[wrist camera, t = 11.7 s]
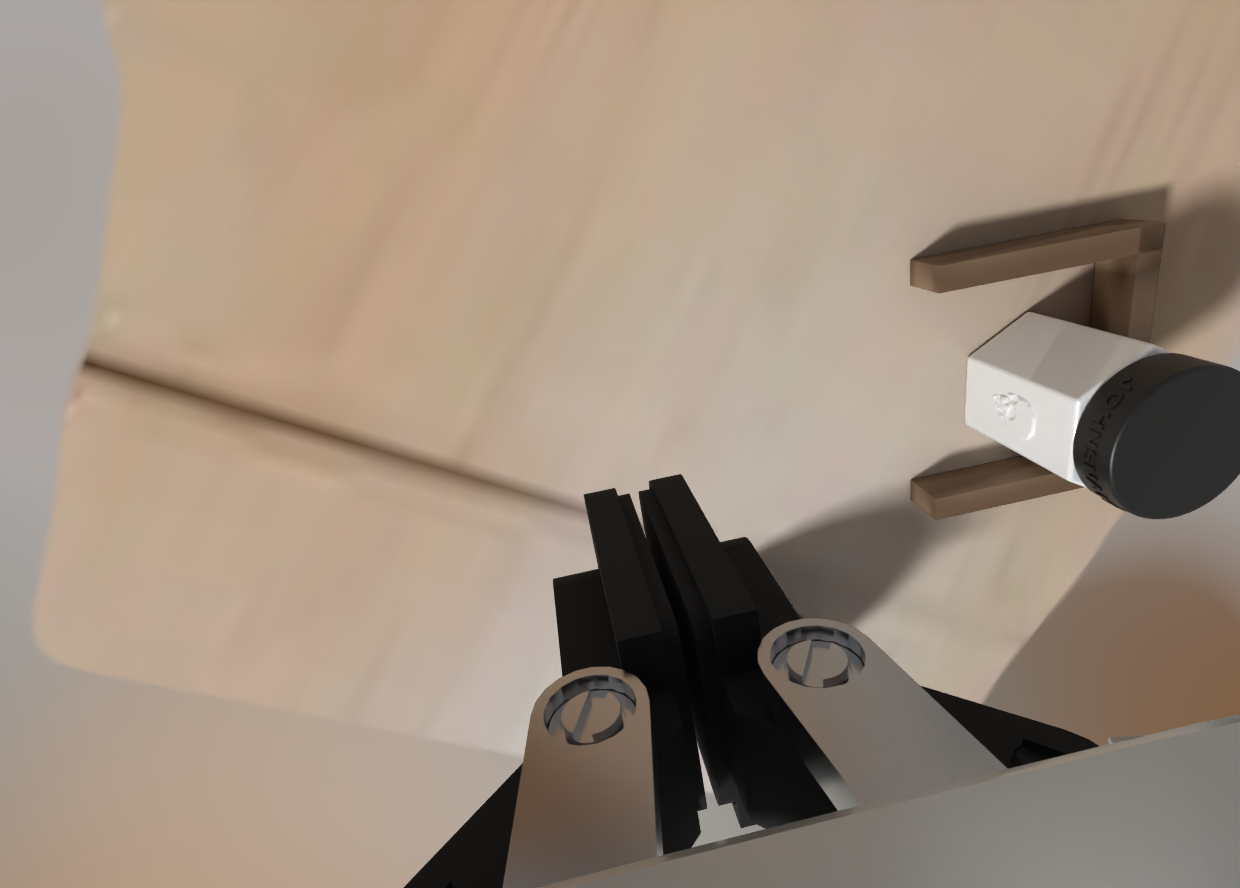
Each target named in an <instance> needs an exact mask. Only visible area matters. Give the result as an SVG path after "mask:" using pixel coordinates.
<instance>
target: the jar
mask: <svg viewBox="0 0 1240 888" xmlns="http://www.w3.org/2000/svg"><path fill="white" fill-rule="evenodd" d="M965 424H966V425H967V426H969V427H971V428H973V429H975V430H976V431H978V432H980V433H982V434H984V435H986V436H987V437H989V438H991V439H993V440H995V441H996V442H998V443H1000V444H1002V445H1004V446H1006V447H1007V448H1009V449H1011V450H1013V451H1015V452H1016V453H1018V454H1020V455H1022V456H1024V457H1026V458H1027V459H1029V460H1031V461H1033V462H1035V463H1036V464H1038V465H1040V466H1042V467H1044V468H1046V469H1047V470H1049V471H1051V472H1053V473H1055V474H1056V475H1058V476H1060V477H1062V478H1064V479H1065V480H1067V481H1069V482H1072V483H1075V484H1078V485H1080V486H1083V487H1086V488H1088V489H1089V490H1090V491H1092V492H1093V493H1095V494H1097V495H1098V496H1100V497H1102V499H1103V500H1104V501H1106V502H1108V503H1110V504H1112V505H1113V506H1115V507H1117V508H1119V509H1121V510H1124V511H1127V512H1130V513H1132V514H1134V515H1136V516H1139V517H1143V518H1148V519H1166V518H1173V517H1177V516H1181V515H1184V514H1187V513H1189V512H1192V511H1194V510H1196V509H1198V508H1200V507H1202V506H1203V505H1205V504H1207V503H1208V502H1210V501H1211V500H1213V499H1214V498H1215V497H1217V496H1218V495H1219V494H1220V493H1222V492H1223V491H1224V490H1225V489H1226V488H1227V487H1228V486H1229V485H1230V484H1231V483H1232V482H1233V481H1234V480H1235V479H1236V478H1237V476H1238V475H1239V474H1240V371H1238V370H1236V369H1233V368H1231V367H1228V366H1224V365H1221V364H1217V363H1213V362H1209V361H1206V360H1202V359H1198V358H1195V357H1191V356H1187V355H1183V354H1177V353H1172V352H1170V351H1168V350H1166V349H1164V348H1161V347H1159V346H1157V345H1155V344H1152V343H1148V342H1144V341H1140V340H1136V339H1132V338H1129V337H1125V336H1121V335H1117V334H1113V333H1110V332H1106V331H1102V330H1098V329H1094V328H1091V327H1087V326H1083V325H1079V324H1075V323H1072V322H1068V321H1064V320H1060V319H1056V318H1053V317H1049V316H1045V315H1041V314H1037V313H1034V312H1027V313H1025V314H1024V315H1023V316H1021V317H1020V318H1019V319H1018V320H1016V321H1015V322H1014V323H1012V324H1011V325H1010V326H1008V327H1007V328H1006V329H1004V330H1003V331H1002V332H1000V333H999V334H998V335H997V336H995V337H994V338H993V339H991V340H990V341H989V342H987V343H986V344H985V345H983V346H982V347H981V348H979V349H978V350H977V351H975V352H974V353H973V354H971V355H970V356H969V357H968V360H967V385H966V408H965Z"/></svg>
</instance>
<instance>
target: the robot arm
mask: <svg viewBox="0 0 1240 888" xmlns="http://www.w3.org/2000/svg"><path fill="white" fill-rule="evenodd" d="M584 499H585V504H586V509H587V514H588V519H589V524H590V529H591V534H592V539H593V544H594V549H595V553H596V558H597V563H598V568H599V569H596V570H591V571H587V572H582V573H578V574H573V575H569V576H564V577H559V578H555V579H553V587H554V597H555V607H556V617H557V627H558V636H559V646H560V656H561V666H562V676H563V677H561V678H559V679H558V680H556V681H555V682H554V683H553V684H551V685H550V686H549V687H547V688H546V689H545V690H544V692H543V693H542V694H541V695H540V697H539V698H538V699H537V701H536V702H535V705H534V708H533V711H532V713H531V717H530V723H529V729H528V735H527V741H526V748H525V754H524V760H523V763H522V764H521V766H520V767H519V768H518V769H517V770H516V771H515V772H514V773H513V774H512V775H511V776H510V777H509V778H508V779H507V780H506V781H505V782H504V783H503V784H502V785H501V786H500V787H499V788H498V790H497V791H496V792H495V793H494V794H493V795H492V796H491V797H490V798H489V799H488V800H487V801H486V802H485V803H484V804H483V805H482V806H481V807H480V808H479V809H478V810H477V812H476V813H475V814H474V815H473V816H472V817H471V818H470V819H469V820H468V821H467V822H466V823H465V824H464V825H463V826H462V827H461V828H460V829H459V830H458V831H457V832H456V833H455V834H454V835H453V837H452V838H451V839H450V840H449V841H448V842H447V843H446V844H445V845H444V846H443V847H442V848H441V849H440V850H439V851H438V852H437V853H436V854H435V855H434V856H433V858H431V860H430V861H429V862H428V863H427V864H426V865H425V866H424V867H423V868H422V869H421V870H420V871H419V872H418V873H417V874H416V875H415V876H414V877H413V878H412V879H411V881H410V882H409V883H408V884H407V885H406V886H405V887H404V888H1240V715H1236V716H1231V717H1226V718H1221V719H1216V720H1212V721H1206V722H1201V723H1197V724H1193V725H1189V726H1185V727H1181V728H1176V729H1172V730H1168V731H1164V732H1160V733H1156V734H1151V735H1147V736H1131V737H1109V741H1108V745H1104V746H1098V745H1097V744H1095V743H1094V742H1092V741H1090V740H1089V739H1086V738H1084V737H1082V736H1079V735H1076V734H1074V733H1072V732H1069V731H1066V730H1064V729H1061V728H1057V727H1054V726H1051V725H1048V724H1044V723H1041V722H1038V721H1035V720H1031V719H1028V718H1024V717H1021V716H1018V715H1015V714H1011V713H1008V712H1005V711H1002V710H998V709H995V708H992V707H988V706H985V705H982V704H979V703H975V702H972V701H969V700H965V699H962V698H959V697H956V696H952V695H949V694H946V693H942V692H939V691H936V690H933V689H929V688H926V687H923V686H920V685H919V684H918V683H916V682H915V681H914V680H913V679H912V678H911V677H910V676H909V675H908V674H907V673H906V672H905V671H904V670H903V669H902V668H901V667H900V666H898V665H897V664H896V663H895V662H894V661H893V660H892V659H891V658H890V657H889V656H888V655H887V654H886V653H885V652H884V651H883V650H881V649H880V648H879V647H878V646H877V645H876V644H875V643H874V642H873V641H872V640H871V639H870V638H869V637H868V636H866V635H865V634H863V633H862V632H861V631H859V630H858V629H856V628H855V627H852V626H850V625H847V624H845V623H842V622H840V621H835V620H829V619H823V618H808V619H800V617H799V616H798V614H797V613H796V611H795V610H794V608H793V607H792V605H791V604H790V602H789V600H788V599H787V597H786V596H785V594H784V593H783V591H782V590H781V588H780V587H779V585H778V583H777V582H776V580H775V579H774V577H773V576H772V574H771V573H770V571H769V570H768V568H767V567H766V565H765V563H764V562H763V560H762V559H761V557H760V556H759V554H758V553H757V551H756V550H755V548H754V546H753V545H752V543H751V542H750V541H749V540H748V538H746V537H742V538H738V539H733V540H728V541H724V542H719V540H718V538H717V536H716V534H715V533H714V531H713V529H712V527H711V526H710V524H709V522H708V520H707V519H706V517H705V515H704V513H703V511H702V510H701V508H700V506H699V504H698V503H697V501H696V499H695V497H694V496H693V494H692V492H691V490H690V488H689V487H688V485H687V483H686V481H685V480H684V478H683V476H682V475H681V474H679V475H674V476H670V477H665V478H660V479H655V480H651V481H649V490H644V491H639V499H640V505H641V511H642V517H643V523H644V529H645V535H646V537H645V535H644V532H643V529H642V527H641V524H640V521H639V518H638V516H637V513H636V510H635V508H634V505H633V502H632V499H631V497H630V494H625V495H620V496H618V495H617V492H616V489H615V488H613V489H608V490H603V491H598V492H594V493H589V494H584ZM696 739H697V740H696ZM697 743H698V746H699V749H700V752H701V755H702V758H703V761H704V764H705V767H706V770H707V773H708V776H709V779H710V782H711V785H712V789H713V792H714V795H715V798H716V800H717V803H718V805H719V806H720V805H724V804H728V803H732V804H733V807H734V810H735V813H736V816H737V819H738V821H739V824H740V827H741V828H744V827H747V826H751V825H755V824H757V825H759V826H761V827H763V828H766V829H765V830H760V831H756V832H752V833H749V834H745V835H741V836H737V837H733V838H729V839H725V840H721V841H717V842H713V843H709V844H705V845H701V846H697V847H693V848H691V847H692V846H693V844H694V842H695V841H696V839H697V838H698V836H699V835H700V833H701V831H700V825H699V818H698V812H697V811H699V810H704V809H707V804H706V797H705V791H704V784H703V778H702V772H701V765H700V759H699V752H698V746H697Z"/></svg>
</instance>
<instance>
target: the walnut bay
mask: <svg viewBox="0 0 1240 888" xmlns="http://www.w3.org/2000/svg"><path fill="white" fill-rule="evenodd" d="M1165 224H1166V222H1155V221H1141V220H1127V219H1121V220H1115V221H1110V222H1105V223H1100V224H1095V225H1089V226H1084V227H1079V228H1074V229H1069V230H1063V231H1058V232H1053V233H1048V234H1042V235H1037V236H1032V237H1027V238H1022V239H1016V240H1011V241H1006V242H1001V243H996V244H990V245H985V246H980V247H975V248H970V249H964V250H959V251H954V252H949V253H943V254H938V255H933V256H928V257H923V258H917V259H912V260H910V285H911V286H915V287H918V288H922V289H926V290H929V291H933V292H936V293H943V292H948V291H953V290H958V289H963V288H968V287H973V286H978V285H984V284H989V283H994V282H999V281H1004V280H1009V279H1014V278H1019V277H1024V276H1029V275H1035V274H1040V273H1045V272H1050V271H1055V270H1060V269H1065V268H1070V267H1075V266H1080V265H1085V264H1091V263H1095V273H1094V283H1093V294H1092V304H1091V314H1090V324H1089V327H1091V328H1094V329H1098V330H1102V331H1106V332H1110V333H1113V334H1117V335H1121V336H1125V337H1129V338H1132V339H1136V340H1140V341H1144V342H1148V343H1150V336H1151V328H1152V321H1153V314H1154V306H1155V299H1156V291H1157V284H1158V276H1159V269H1160V261H1161V254H1162V246H1163V239H1164V231H1165ZM1078 488H1083V486H1080V485H1078V484H1075V483H1072V482H1069V481H1067V480H1065V479H1064V478H1062V477H1060V476H1058V475H1056V474H1055V473H1053V472H1051V471H1049V470H1047V469H1046V468H1044V467H1042V466H1040V465H1038V464H1036V463H1035V462H1033V461H1031V460H1029V459H1027V458H1026V457H1024V456H1019V457H1014V458H1009V459H1005V460H1000V461H995V462H991V463H986V464H982V465H977V466H972V467H968V468H963V469H959V470H954V471H949V472H945V473H940V474H935V475H931V476H926V477H922V478H917V479H912V480H911V500H912V501H913V502H914V503H915V504H917V505H918V506H919V507H920V508H921V509H923V510H924V511H925V512H926V513H928V514H929V515H930V516H931V517H932V518H934V519H935V520H938V519H943V518H947V517H952V516H956V515H961V514H965V513H970V512H974V511H979V510H983V509H988V508H992V507H997V506H1001V505H1006V504H1010V503H1015V502H1020V501H1024V500H1029V499H1033V498H1038V497H1042V496H1047V495H1051V494H1056V493H1060V492H1065V491H1069V490H1074V489H1078Z"/></svg>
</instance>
